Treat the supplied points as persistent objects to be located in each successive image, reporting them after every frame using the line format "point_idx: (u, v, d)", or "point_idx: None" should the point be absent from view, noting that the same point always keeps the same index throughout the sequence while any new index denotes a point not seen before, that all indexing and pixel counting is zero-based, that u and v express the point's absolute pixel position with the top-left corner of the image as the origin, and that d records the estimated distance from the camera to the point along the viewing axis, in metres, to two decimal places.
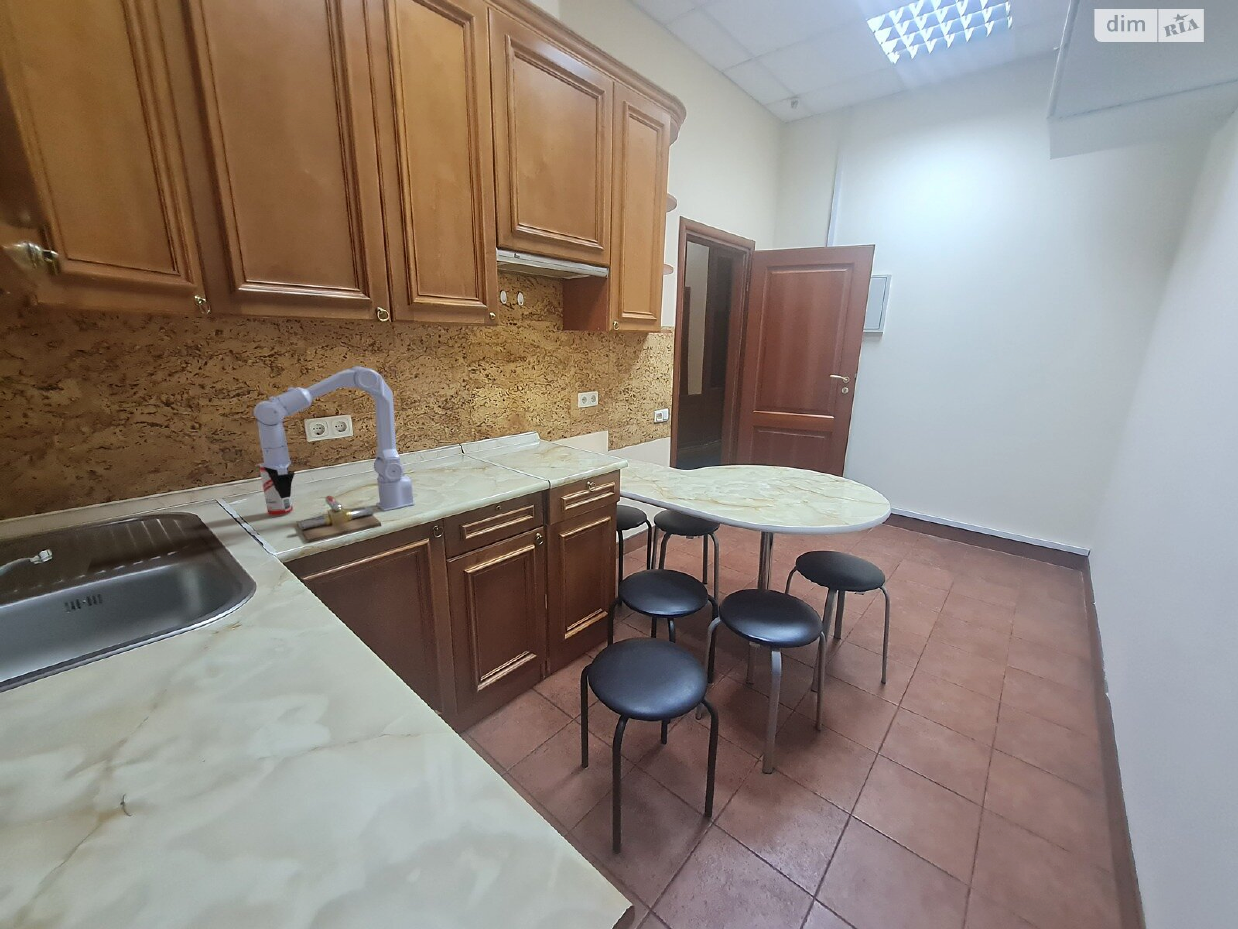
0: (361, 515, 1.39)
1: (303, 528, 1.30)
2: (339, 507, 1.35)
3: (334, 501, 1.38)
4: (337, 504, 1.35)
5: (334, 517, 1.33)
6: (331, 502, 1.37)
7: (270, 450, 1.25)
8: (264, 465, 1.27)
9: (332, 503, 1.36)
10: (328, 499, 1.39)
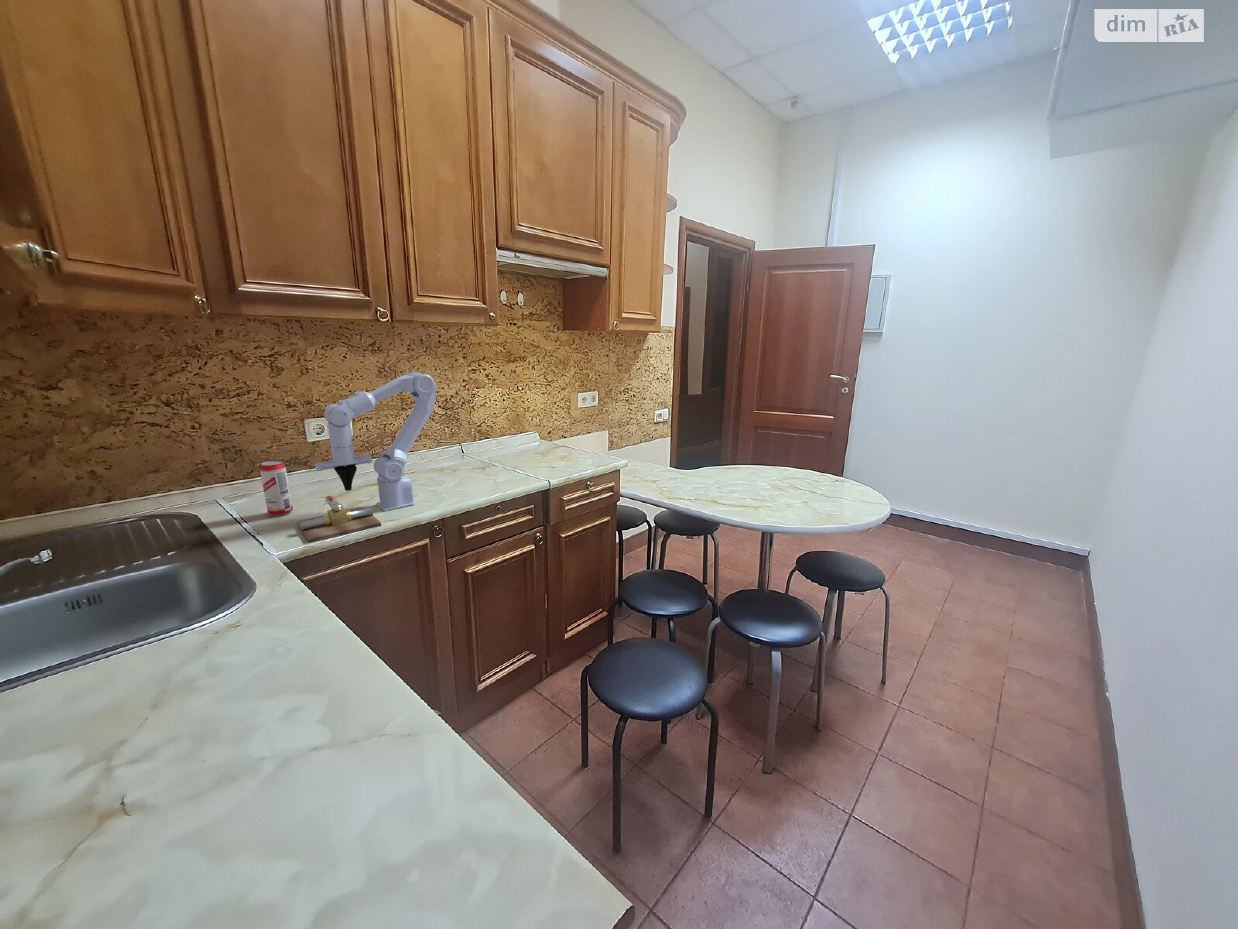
0: (361, 515, 1.39)
1: (303, 528, 1.30)
2: (339, 507, 1.35)
3: (334, 501, 1.38)
4: (337, 504, 1.35)
5: (334, 517, 1.33)
6: (331, 502, 1.37)
7: None
8: None
9: (332, 503, 1.36)
10: (328, 499, 1.39)
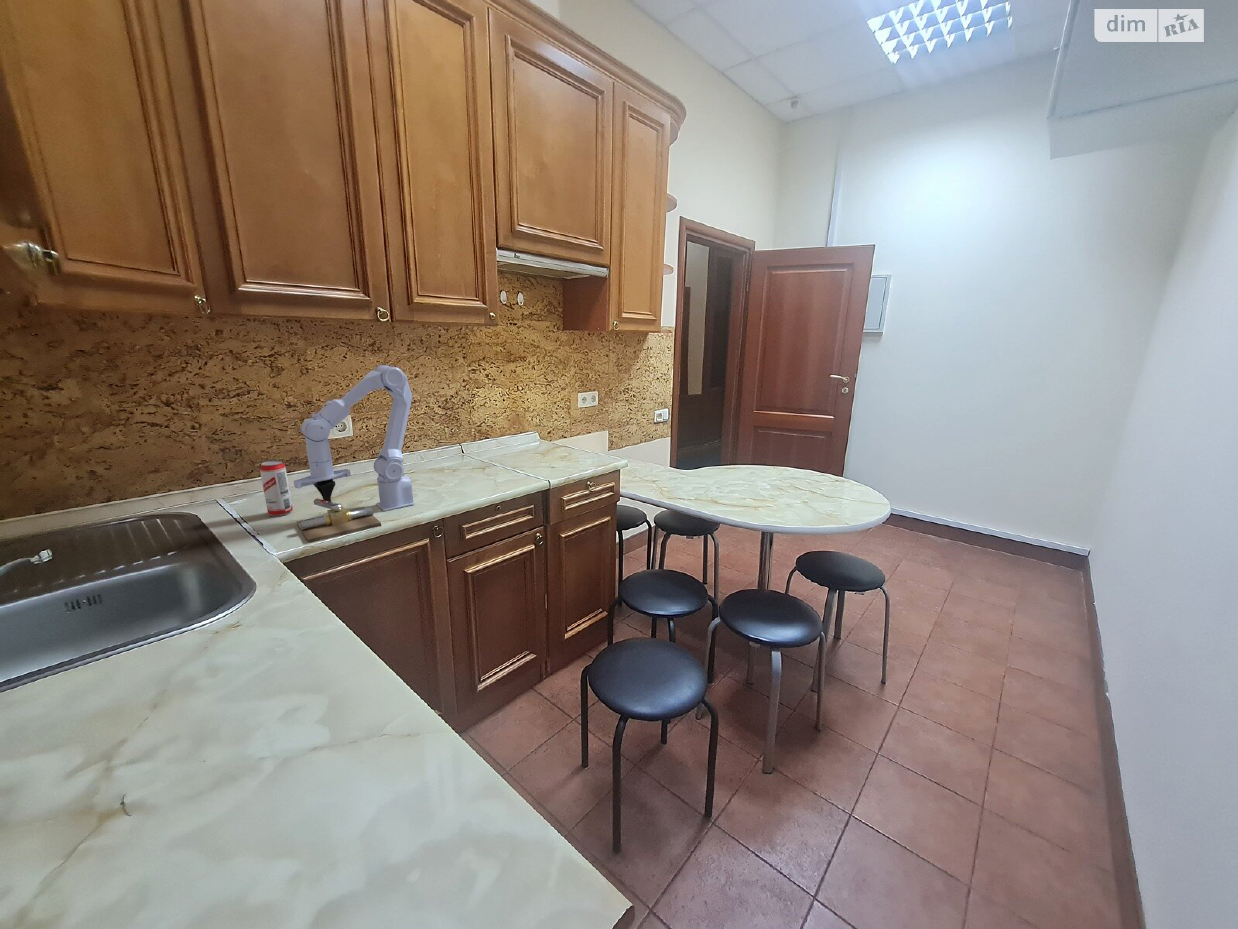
0: (361, 515, 1.39)
1: (303, 528, 1.30)
2: (340, 506, 1.35)
3: (329, 502, 1.37)
4: (336, 504, 1.35)
5: (334, 517, 1.33)
6: (327, 503, 1.36)
7: None
8: None
9: (330, 504, 1.35)
10: (320, 501, 1.37)
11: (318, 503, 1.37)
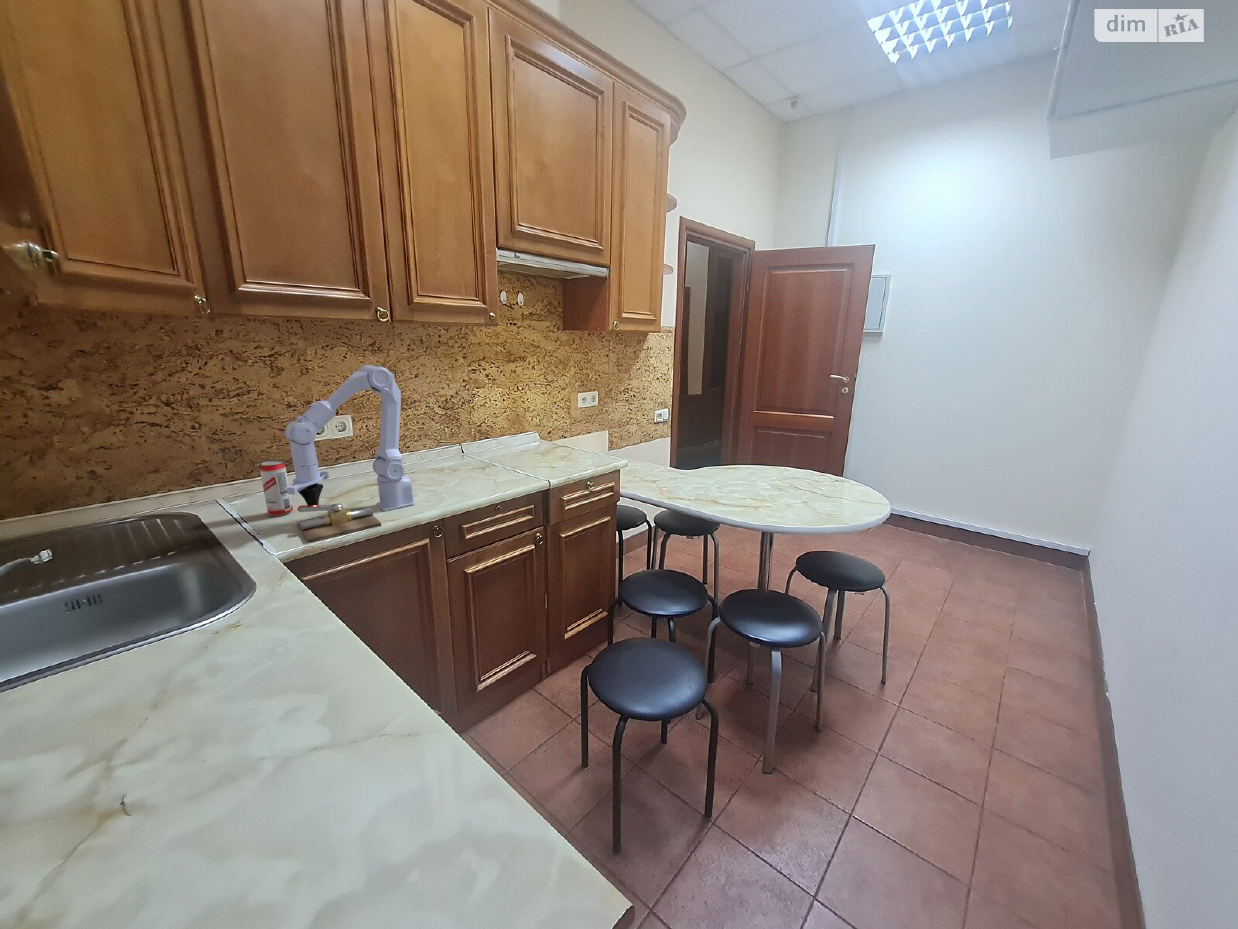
0: (361, 515, 1.39)
1: (303, 528, 1.30)
2: (341, 505, 1.36)
3: (323, 505, 1.35)
4: (335, 504, 1.35)
5: (334, 517, 1.33)
6: (323, 506, 1.34)
7: (295, 468, 1.30)
8: None
9: (327, 506, 1.34)
10: (310, 506, 1.33)
11: (308, 509, 1.33)
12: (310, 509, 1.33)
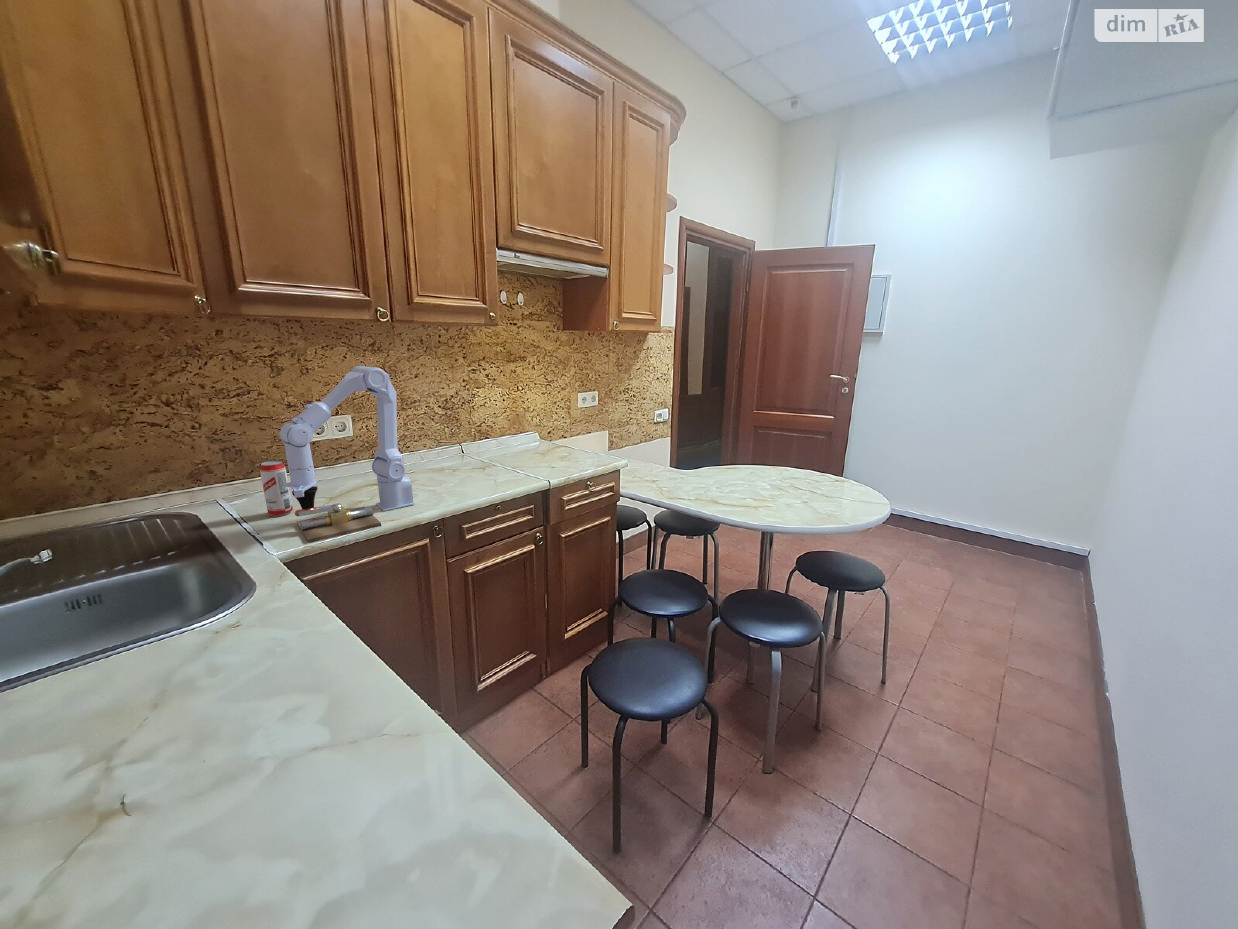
0: (361, 515, 1.39)
1: (303, 528, 1.30)
2: None
3: (321, 506, 1.33)
4: (334, 504, 1.35)
5: (334, 517, 1.33)
6: (323, 507, 1.33)
7: (293, 471, 1.27)
8: (289, 485, 1.28)
9: (327, 506, 1.33)
10: (310, 509, 1.31)
11: (307, 512, 1.31)
12: (310, 512, 1.31)
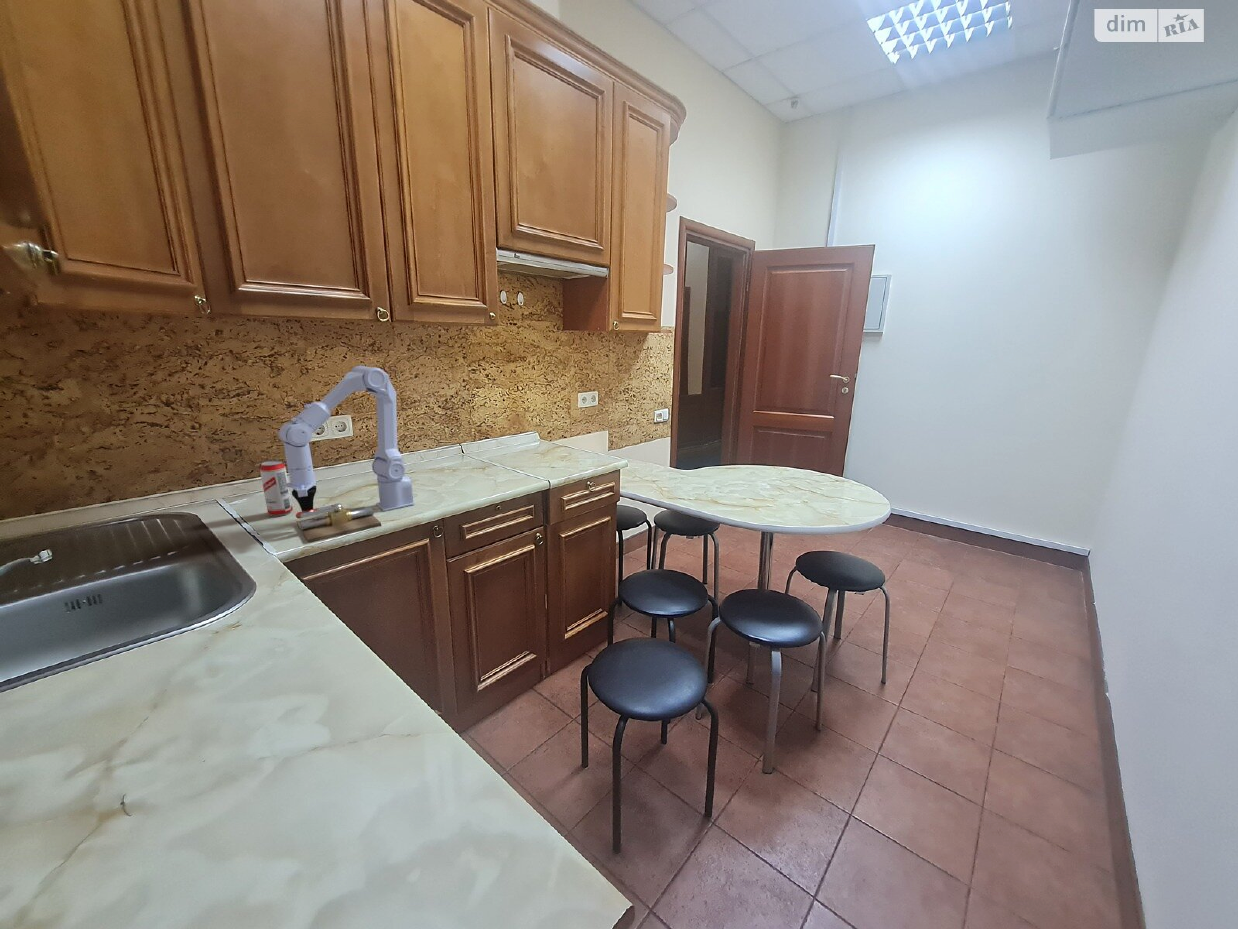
0: (361, 515, 1.39)
1: (303, 528, 1.30)
2: None
3: (321, 507, 1.33)
4: (334, 504, 1.35)
5: (334, 517, 1.33)
6: (324, 508, 1.32)
7: (294, 471, 1.27)
8: (289, 485, 1.28)
9: (328, 507, 1.33)
10: (311, 510, 1.30)
11: (309, 513, 1.30)
12: (311, 513, 1.30)
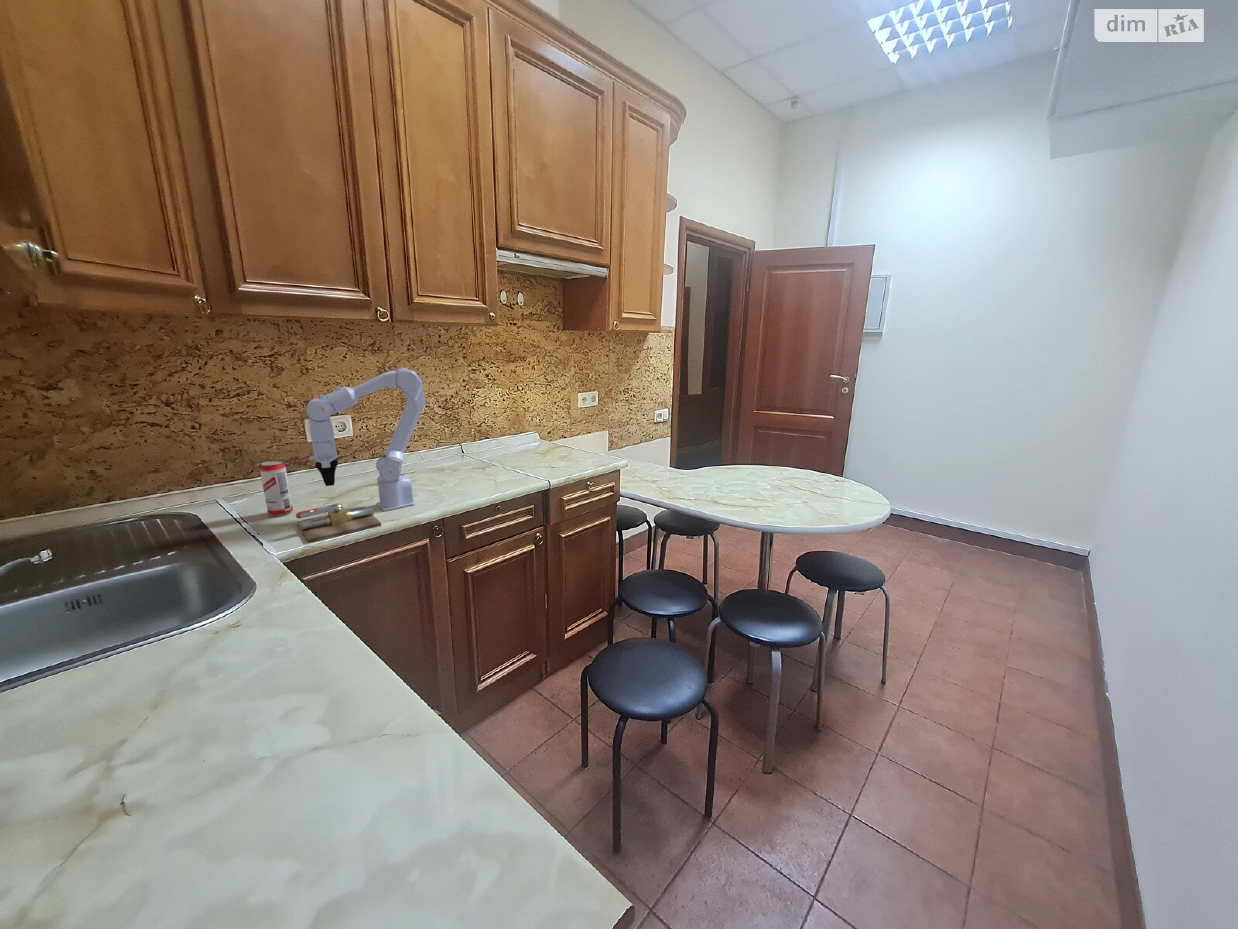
0: (361, 515, 1.39)
1: (303, 528, 1.30)
2: None
3: (321, 507, 1.33)
4: (334, 504, 1.35)
5: (334, 517, 1.33)
6: (324, 508, 1.32)
7: (318, 444, 1.35)
8: (313, 458, 1.37)
9: (328, 507, 1.33)
10: (311, 510, 1.30)
11: (309, 513, 1.30)
12: (311, 513, 1.30)
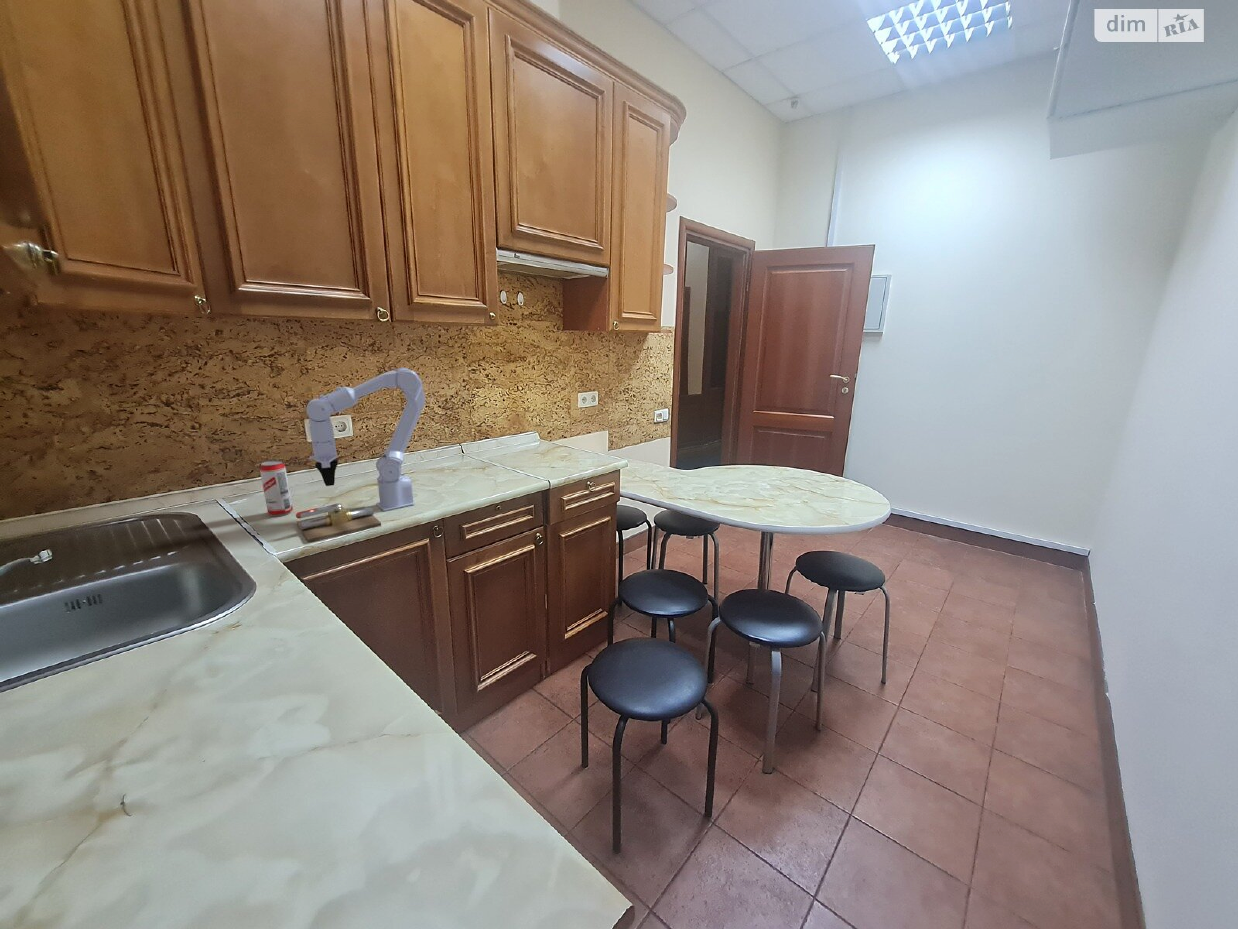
0: (361, 515, 1.39)
1: (303, 528, 1.30)
2: None
3: (321, 507, 1.33)
4: (334, 504, 1.35)
5: (334, 517, 1.33)
6: (324, 508, 1.32)
7: (318, 444, 1.35)
8: (313, 458, 1.37)
9: (328, 507, 1.33)
10: (311, 510, 1.30)
11: (309, 513, 1.30)
12: (311, 513, 1.30)
